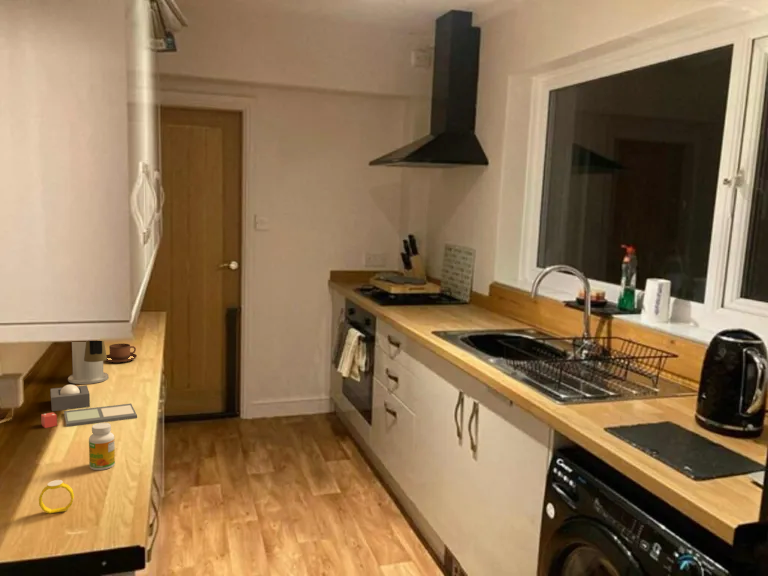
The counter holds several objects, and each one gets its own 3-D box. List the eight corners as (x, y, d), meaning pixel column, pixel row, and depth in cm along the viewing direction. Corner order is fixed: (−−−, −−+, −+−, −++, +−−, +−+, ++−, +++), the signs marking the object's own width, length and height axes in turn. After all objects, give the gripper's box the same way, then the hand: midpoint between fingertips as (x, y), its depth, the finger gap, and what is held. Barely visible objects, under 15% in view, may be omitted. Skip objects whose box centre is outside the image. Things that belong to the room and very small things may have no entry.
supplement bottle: (84, 469, 146) (83, 428, 144) (98, 460, 151) (97, 420, 150) (106, 471, 145) (105, 430, 143) (119, 462, 150) (118, 422, 149)
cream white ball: (59, 400, 193) (59, 383, 192) (79, 398, 195) (78, 381, 195) (60, 405, 188) (59, 388, 187) (80, 403, 191) (80, 386, 190)
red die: (41, 425, 173) (41, 414, 173) (53, 422, 175) (53, 411, 175) (45, 428, 171) (44, 416, 171) (57, 425, 173) (56, 414, 173)
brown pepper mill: (98, 362, 180) (97, 324, 179) (79, 361, 182) (78, 323, 180) (111, 358, 186) (110, 320, 185) (92, 356, 187) (91, 319, 186)
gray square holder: (50, 401, 194) (50, 388, 193) (87, 397, 199) (86, 385, 198) (51, 411, 185) (51, 397, 185) (89, 406, 190) (89, 393, 189)
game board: (64, 413, 183) (64, 410, 183) (131, 406, 192) (131, 403, 192) (66, 426, 173) (66, 423, 172) (137, 417, 181) (137, 414, 181)
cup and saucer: (121, 356, 254) (121, 341, 253) (143, 360, 249) (143, 344, 248) (96, 362, 243) (95, 346, 242) (118, 366, 238) (118, 350, 237)
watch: (75, 506, 128) (74, 478, 127) (73, 512, 125) (72, 483, 125) (41, 510, 126) (40, 481, 125) (38, 516, 123) (37, 487, 123)
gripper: (76, 286, 187) (78, 348, 189) (81, 293, 173) (83, 359, 175) (104, 285, 191) (105, 345, 193) (111, 291, 176) (113, 357, 178)
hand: (95, 351), depth 184 cm, fingers closed on brown pepper mill, 4 cm apart
